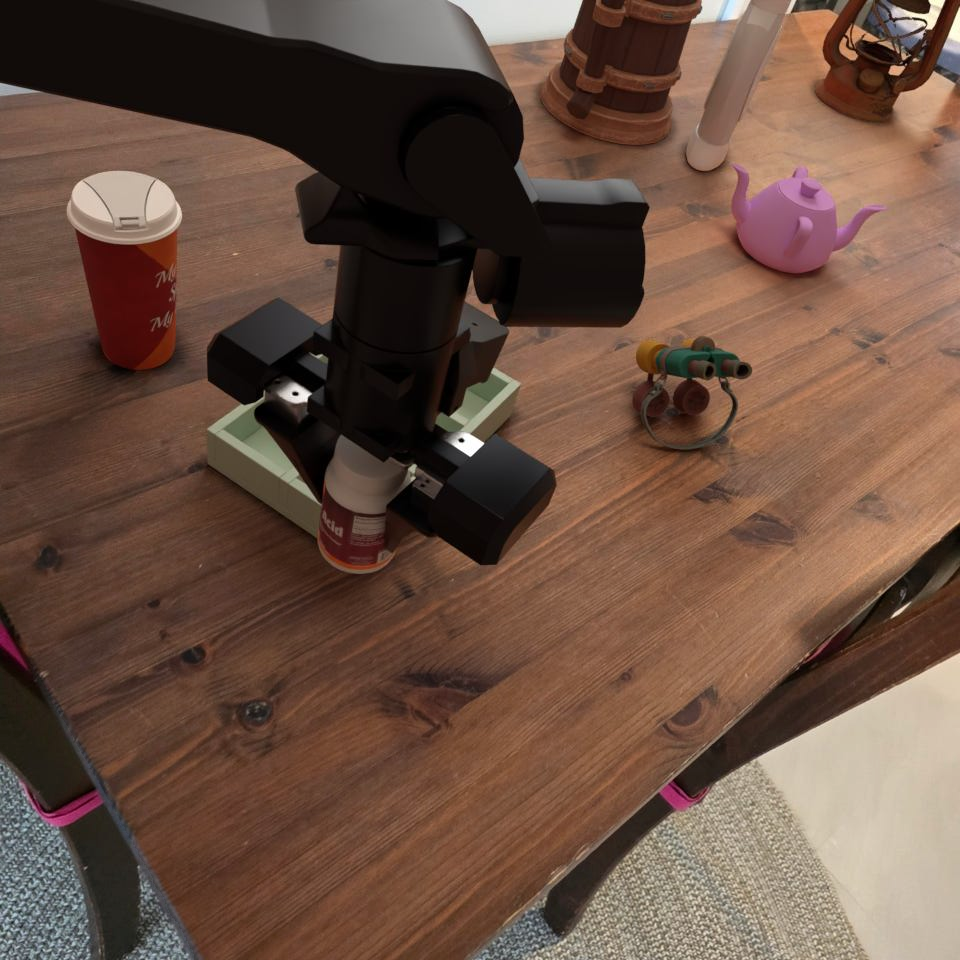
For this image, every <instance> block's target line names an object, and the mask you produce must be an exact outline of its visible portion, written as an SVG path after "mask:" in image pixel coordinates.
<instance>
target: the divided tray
mask: <svg viewBox="0 0 960 960" xmlns="http://www.w3.org/2000/svg"><path fill="white" fill-rule="evenodd" d="M312 355H313V354H312ZM313 356H315V355H313ZM315 357H316V358H318V359H319V360H321V361H322V362H324V363H328V358H327V357H325V356H324V355H322V354H321V355H317V356H315ZM521 385H522V383H521V382H520V381H517V380H516V379H514V378H512V377H511V376H509V375H507V374H505V373H504V372H503V371H501V370H499V369H497V368H495V366H494V367H493V370H492V372H491V374H490V376H489V378H488V381H487V382H485V383H480V382H479V383H477V384H475V385H473V386H470V387H468V388H467V389H466V393H465V396H464V400H463V404H462V406H461V407H460V408H459V409H458V410H457V411H456V412H454V413H453V414H452V415H451V416H450V417H448V416H446V415H445V414H443V413H442V412H441V413H440V414H439V415H438V416H437V418H436V422H435V424H437V425H439V426H440V427H442V428H443V429H445V430H446V431H448V432H454V431H465V432H467V433H469V434H471V435H472V436H474V437H475V438H477V439H479V440H480V441H482V442H483V443H485V442H486V441H487V440H488V439H489V438H490V437H491V436H493V435H494V434H495V432H496V431H497V430H498V429H499V428H500V427H501V426H502V425H503V424H504V423H505V422H506V421H508V419H509V418H510V417H511V416H512V415H513V414H512V413H513V411H514V407H515V406H516V403H517V398H518V395H519V393H520V389H521ZM264 397H265V391H264ZM264 397H263V398H261V399H260V400H258V401H257V402H255V403H252V404H248V405H243V404H241V403H240V404H239V405H238V406H236V407H235V408H233V409H232V410H231V411H230V412H228V413H227V414H226V415H224V416H223V417H221V418H220V419H218V420H216V422H214V423H213V424H211V425H210V426H208V427H207V428H206V452H207V454H206V456H207V457H206V458H207V459H206V460H207V464H208V465H209V466H210V467H211V468H213V469H215V470H216V471H217V472H219V473H221V474H222V475H224V476H225V477H226V478H228V479H229V480H230V481H232V482H234V483H235V484H237V485H238V486H240V487H241V488H242V489H244V490H246V492H248V493H250V494H251V495H252V496H254V497H255V498H257V499H259V500H260V501H261V502H263V503H264V504H266V505H267V506H269V507H271V508H272V509H273V510H275V511H276V512H277V513H280V514H281V515H282V516H284V518H287V519H288V520H290V522H292V523H294V524H295V525H296V526H298V527H300V528H301V529H302V530H304V531H306V532H307V533H308V534H310V535H312V536H313V537H314V538H315V539H317V540H318V530H319V520H320V512H321V504H320V503H319V502H318V501H317V500H316V498H315V497H314V495H313V494H312V492H311V491H310V489H309V488H308V486H307V485H306V484H305V482H304V481H303V479H302V478H301V476H300V475H299V473H298V472H297V470H296V469H295V468H294V466H293V465H292V463H291V462H290V460H289V459H288V458H287V456H286V455H285V454H284V452H283V451H282V450H281V449H280V447H279V446H278V445H277V443H276V442H275V441H274V439H273V438H272V437H271V435H270V434H269V433H268V431H267V430H266V429H265V428H264V427H263V426H261V425H260V424H259V423H257V422H256V420H255V418H254V410H255V408H256V407H257V406H259V405H260V404H262V403H263V402H264ZM416 467H417V465H416V464H413V465H412V466H411V467H410V468H409V469H408V470H409V473H410V477H411V482H412V481H413V480H414V479H415V478H416V477H414V473H415V469H416Z"/></svg>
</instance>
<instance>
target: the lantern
mask: <svg viewBox="0 0 960 960" xmlns="http://www.w3.org/2000/svg"><path fill="white" fill-rule="evenodd" d="M868 1H869V0H848V1H847V3H845V5H844V7H843V9H842V10H841V11H840V12H839V15H838V16H837V17H836V20H835V21H834V22H833V24H832V26H831V27H830V29H828V31H827V33H826V35H825V37H824V40H823V44H822V50H821V51H822V55H823V60H824V61H825V62H826V63H827V64H828V65H829V70H828V72H827V74H826V76H825V77H824V78H822V79H821V80H820V81H818V83H817V84H816V85H815V87H814V91H815V93H816V95H817V96H818V98H819V99H820V100H821V101H822V102H823V103H824V104H825V105H827V106H829V107H831V108H832V109H833V110H835V111H838V112H839V113H841V114H844V115H846V116H847V117H851V118H853V119H855V120H859V121H863V122H868V123H875V124H882V123H887V122H890V121H891V120H892V119H893V118H894V105H895V104H896V102H897V100H898V98H899V97H900V95H901V93H907V92H911V91H915V90H917V89H919V88H920V87H923V85H925V84H926V83H927V82H928V81H929V80H930V78H931V76H932V75H933V73H934V72H935V69H936V66H937V63H938V61H939V59H940V56H941V54H942V52H943V50H944V47H945V44H946V42H947V40H948V37H949V35H950V33H951V30H952V27H953V24H954V23H955V20H956V17H957V16H958V12H959V10H960V0H944V1H943V4H942V6H941V9H940V11H939V13H938V17H937V18H936V21H935V23H934V25H933V27H932V28H927V27H928V25H929V24H928V21H927V19H925V18H922V17H916V16H901V17H896V16H895V17H893V14H892V11H891V9H890V8H889V7H888V6H887V5H886V4H885V3H884V2H883V1H881V0H873V1H872V4H871V9H872V12H873V14H874V16H875V18H876V20H877V21H878V23H877V24H875V25H873V26H872V27H871V28H870V29H869V30H867V31H866V33H863V34H862V35H861V37H860V38H859V39H858V40H857V41H855V43H854V42H853V30H854V27H855V23H856V22H857V19H858V16H860V15H859V14H860V13H861V11H862V10H863V8H864V6H865V5H866V4H867V2H868ZM885 1H886V2H888V3H889V4H890V5H892V6H895V8H898V9H901V10H903V11H906V12H909V13H913V14H918V15H927V14H929V13H930V12H931V7H932V3H931V2H930V0H885ZM877 5H878V6H879V7H880V8H882V9H883V10H885V11H886V12H887V16H888V19H885V20H884V19H883V18H882V16H881V13H880V11H879V8H878V7H877ZM890 21H892V23H894V24H893V26H894V29H896V28H897V24H896V22H899V21H918V22H922V23H924V24H925V25H922V26H920V27H918V28H917V29H914V30H913V31H910V32H908V33H905V34H902V35H899V33H896V36H895V35H893V36H892V34H891V33H892V32H891V30H890V29H889V27H888V26H887V23H888V22H890ZM880 26H881V29H883V31H884V33H885V35H886V37H884V38H883V39H878V40H874V41H870V40H866V39H864V38H865V36H866V35H867V34H868V33H870V32H869V31H871V30H872V29H874V28H878V27H880ZM848 31H849V36H848V35H847V32H848ZM921 32H923V33H922V36H920V38H919V39H918V41H917V42H916V43H915V44H914V45H913V46H912V47H911V48H910V49H909V50H908V51H906V52H905V57H906V58H905V59H903V56H902V42H901V39H904V38H909V37H911V36H914V35H917V34H919V33H921ZM844 38H845V40H846V42H845V48H847V50H849V51H854V53H855V54H856V55H857V57H856V58H855V59H850V58H848V57H847V56H845V55H844V54H843V53H842V52H841V50H840V47H841V46H840V45H841V43H842V41H843V39H844ZM895 40H896V41H897V45H898V51H899V52H898V51H897V48H896V43H895ZM887 41H890V42H891V46H892V48H893V49H892V48H890V47H889V46H886V45H884V44H881V43H884V42H887ZM924 44H925V45H924ZM850 45H851V46H850ZM921 52H923V53H922V56H921V57H920V59H919V60H915V61H914V59H917V58H918V57H919V55H920V54H921ZM893 66H894V67H904V68H903V70H901V72H900V73H899V74H898V75H897V74H891V73H890V70H891V67H893Z"/></svg>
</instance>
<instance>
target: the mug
mask: <svg viewBox="0 0 960 960" xmlns="http://www.w3.org/2000/svg"><path fill="white" fill-rule="evenodd" d="M702 3H703V1H702V0H582V1H581V4H580V6H579V10H578V13H577V16H576V19H575V22H574V25H573V27H572V28H571V29H570V30H569V31H568V32H567V34H566V36H565V39H564V42H563V53H564V54H563V58H562V60H561V61H560V62H559V61H558V62H557V63H555V64H554V65H553V66H552V68H551V69H550V70H549V73H548V76H547V78H546V79H545V81H544V82H543V83H542V84H541V87H540V89H539V93H540V95H539V97H540V101H541V103H542V104H543V105H544V107H545V109H546V110H547V111H548V112H549V113H550V114H551V115H552V116H554V117H555V118H556V119H557V120H558V121H559V122H561V123H562V124H565V125H566V126H568V127H570V128H571V129H573V130H575V131H577V132H578V133H582V134H584V135H587V136H589V137H592V138H595V139H597V140H601V141H604V142H605V141H606V142H611V143H615V144H619V145H631V146H632V145H633V146H643V145H650V144H655V143H658V142H660V141H661V140H663V139H666V138H667V137H668V136H669V134H670V131H671V129H672V124H673V123H672V119H671V118H672V115H673V114H672V113H673V110H674V108H675V107H674V104H673V99H672V97H671V95H670V92H671V90H672V89H671V88H672V87H674V86H675V85H676V83H677V82H678V81H680V80H681V77H682V75H683V72H682V67H681V65H680V59H681V56H682V54H683V50H684V47H685V43H686V40H687V37H688V34H689V31H690V28H691V24H692V21H693V20H694V19H697V17H698V15H700V14H701V13H702V11H703V5H702Z"/></svg>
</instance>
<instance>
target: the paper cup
mask: <svg viewBox="0 0 960 960" xmlns="http://www.w3.org/2000/svg"><path fill="white" fill-rule="evenodd" d="M66 216H67V219H68V221H69V222H70V224H71V225H72V226H73V228H74V231H75V235H76V240H77V244H78V248H79V253H80V259H81V263H82V267H83V272H84V277H85V280H86V285H87V288H88V289H87V290H88V294H89V299H90V303H91V307H92V312H93V316H94V321H95V325H96V329H97V333H98V337H99V342H100V345H101V349H102V351H103V353H104V356H105V357H106V358H107V360H108V361H109V362H110V363H112V364H114V365H115V366H118V367H120V368H123V369H127V370H132V371H133V370H136V371H144V370H145V371H146V370H150V369H154V368H157V367H159V366H162V365H164V364H165V363H166V362H168V361H169V360H170V359H171V358H172V357H173V354H174V352H175V349H176V348H175V347H176V331H177V289H178V286H177V285H178V276H177V275H178V228H179V226H180V225H181V222H182V219H183V211H182V209H181V206H180V204H179V202H178V201H177V200H176V197H175V195H174V193H173V191H172V190H171V188H170V187H169V186H168V185H167V184H166V183H164V182H163V181H162V180H160V179H158V178H156V177H153V176H150V175H148V174H144V173H140V172H135V171H129V170H111V171H102V172H98V173H94V174H92V175H89V176H88V177H85V178H83V179H81V180H80V181H78V182H77V183H76V184H75V186H74V188H73V189H72V191H71V195H70V199H69V201H68V203H67V206H66Z"/></svg>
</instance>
